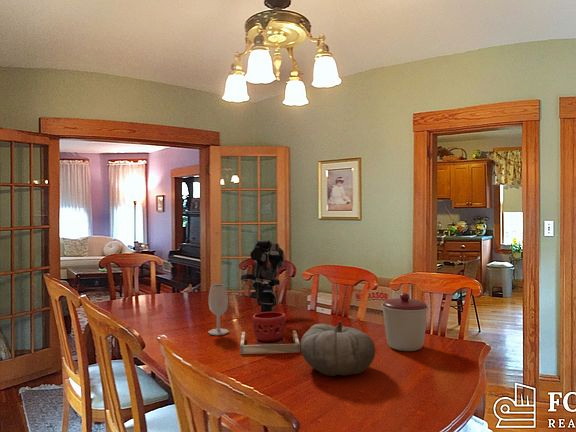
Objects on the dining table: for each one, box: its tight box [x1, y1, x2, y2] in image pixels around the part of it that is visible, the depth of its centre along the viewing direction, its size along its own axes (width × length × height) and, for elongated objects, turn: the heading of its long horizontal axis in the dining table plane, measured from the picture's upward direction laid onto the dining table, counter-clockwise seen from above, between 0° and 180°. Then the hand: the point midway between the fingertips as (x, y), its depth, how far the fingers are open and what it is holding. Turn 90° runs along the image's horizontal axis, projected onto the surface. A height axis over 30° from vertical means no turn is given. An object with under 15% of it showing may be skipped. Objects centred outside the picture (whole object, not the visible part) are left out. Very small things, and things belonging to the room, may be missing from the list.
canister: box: [380, 292, 430, 352], centre depth 171 cm, size 18×18×21 cm
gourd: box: [300, 320, 376, 377], centre depth 148 cm, size 25×25×17 cm
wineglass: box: [207, 283, 230, 336], centre depth 193 cm, size 9×9×21 cm
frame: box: [239, 330, 301, 355], centre depth 175 cm, size 19×22×3 cm
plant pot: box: [252, 311, 286, 345], centre depth 176 cm, size 13×13×12 cm
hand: (259, 298), depth 207 cm, fingers closed
